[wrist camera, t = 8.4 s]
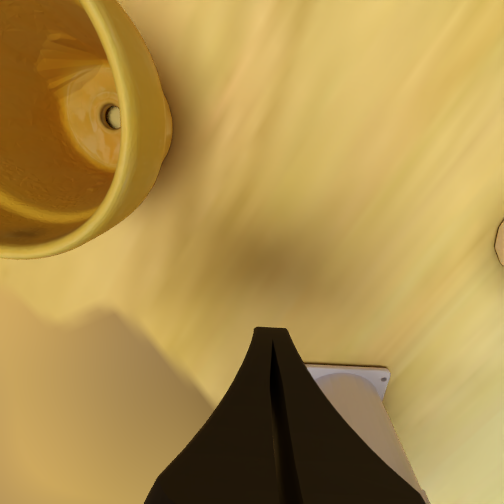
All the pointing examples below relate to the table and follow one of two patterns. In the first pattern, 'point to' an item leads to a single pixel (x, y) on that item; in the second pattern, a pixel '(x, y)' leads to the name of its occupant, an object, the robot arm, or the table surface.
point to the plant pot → (74, 123)
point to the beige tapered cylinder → (500, 243)
